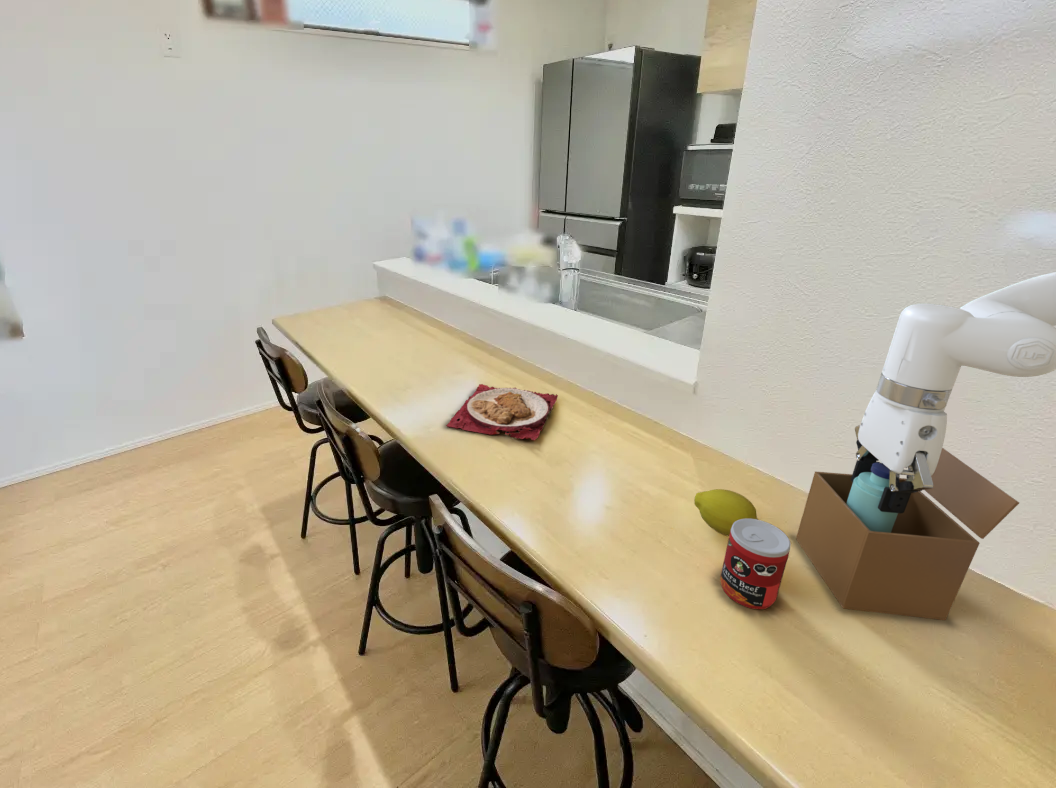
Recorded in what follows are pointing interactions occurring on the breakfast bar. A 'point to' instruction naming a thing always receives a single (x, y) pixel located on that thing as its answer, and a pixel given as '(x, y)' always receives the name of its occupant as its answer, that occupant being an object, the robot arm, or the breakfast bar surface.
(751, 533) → the canned food
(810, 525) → the carton
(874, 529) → the bottle
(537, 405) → the plate with food
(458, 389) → the breakfast bar surface
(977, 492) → the flap
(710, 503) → the lemon
